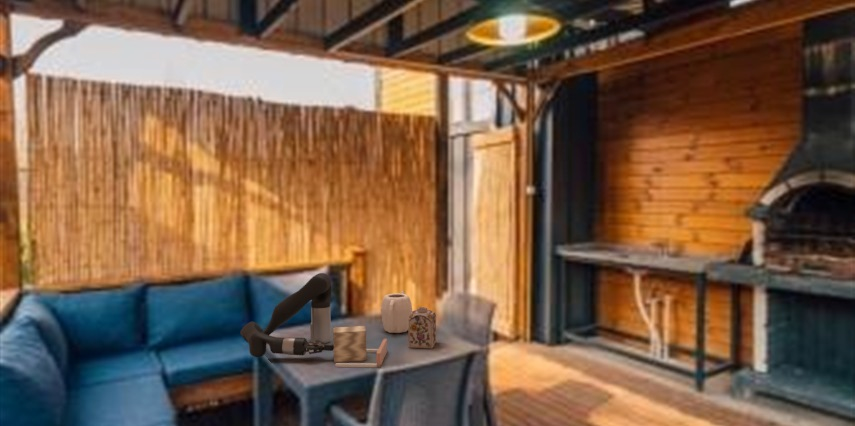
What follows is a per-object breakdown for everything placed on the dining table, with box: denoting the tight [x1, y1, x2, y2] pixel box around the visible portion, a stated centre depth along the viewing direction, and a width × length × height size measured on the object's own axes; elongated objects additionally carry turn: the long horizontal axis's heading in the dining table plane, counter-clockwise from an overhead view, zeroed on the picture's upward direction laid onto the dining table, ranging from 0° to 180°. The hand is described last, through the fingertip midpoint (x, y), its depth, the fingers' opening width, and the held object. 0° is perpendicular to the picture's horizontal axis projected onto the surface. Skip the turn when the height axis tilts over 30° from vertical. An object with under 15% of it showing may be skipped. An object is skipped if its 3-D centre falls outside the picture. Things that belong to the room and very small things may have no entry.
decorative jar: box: [407, 306, 437, 349], centre depth 291 cm, size 12×12×18 cm
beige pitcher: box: [380, 290, 413, 334], centre depth 320 cm, size 16×27×19 cm, turn 168°
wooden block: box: [332, 325, 368, 363], centre depth 272 cm, size 14×9×13 cm, turn 100°
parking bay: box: [335, 338, 388, 368], centre depth 271 cm, size 19×23×6 cm
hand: (333, 347), depth 270 cm, fingers closed
